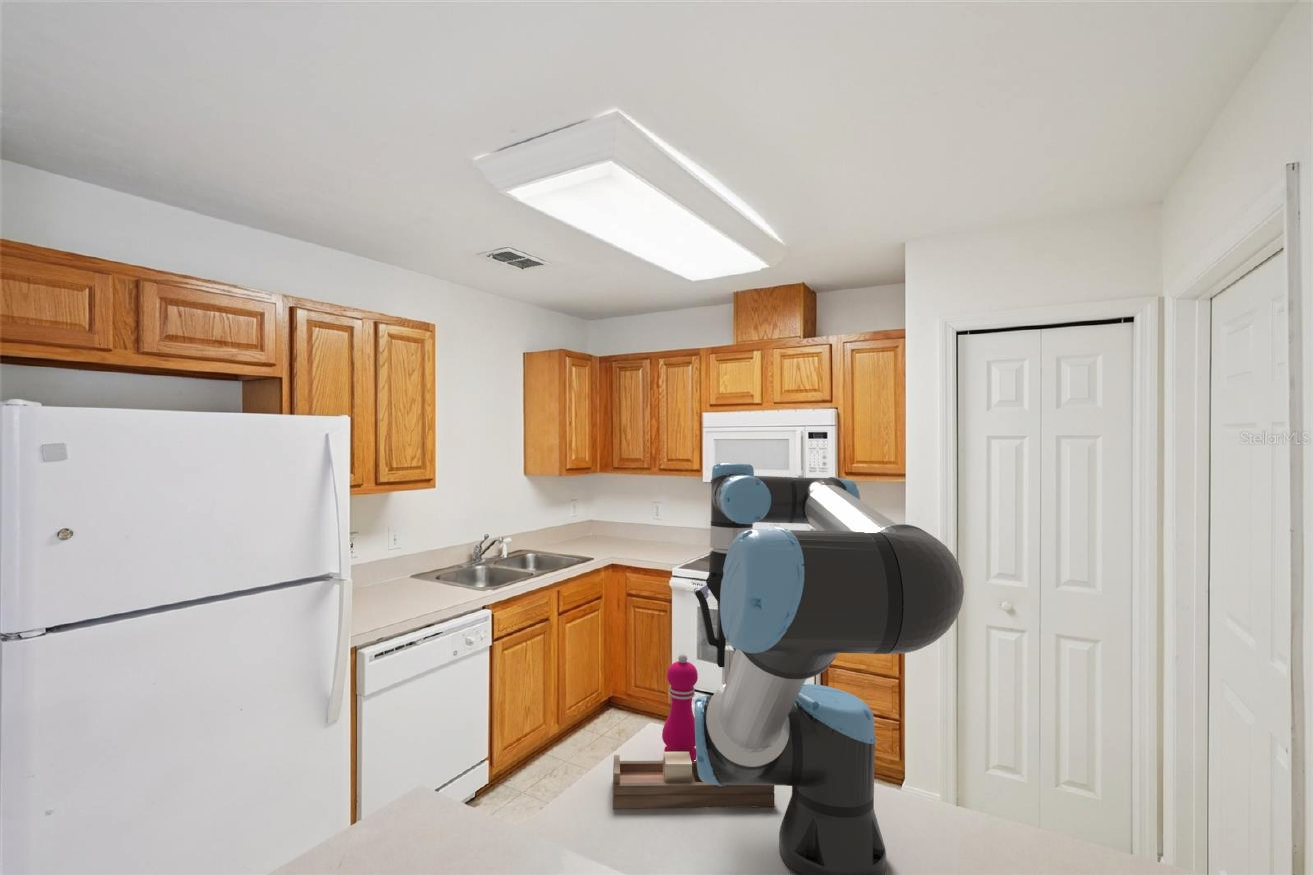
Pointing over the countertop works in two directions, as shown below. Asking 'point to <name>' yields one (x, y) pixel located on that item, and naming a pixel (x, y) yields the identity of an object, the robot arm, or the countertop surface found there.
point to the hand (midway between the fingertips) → (727, 685)
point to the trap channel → (679, 789)
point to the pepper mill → (681, 708)
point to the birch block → (677, 767)
